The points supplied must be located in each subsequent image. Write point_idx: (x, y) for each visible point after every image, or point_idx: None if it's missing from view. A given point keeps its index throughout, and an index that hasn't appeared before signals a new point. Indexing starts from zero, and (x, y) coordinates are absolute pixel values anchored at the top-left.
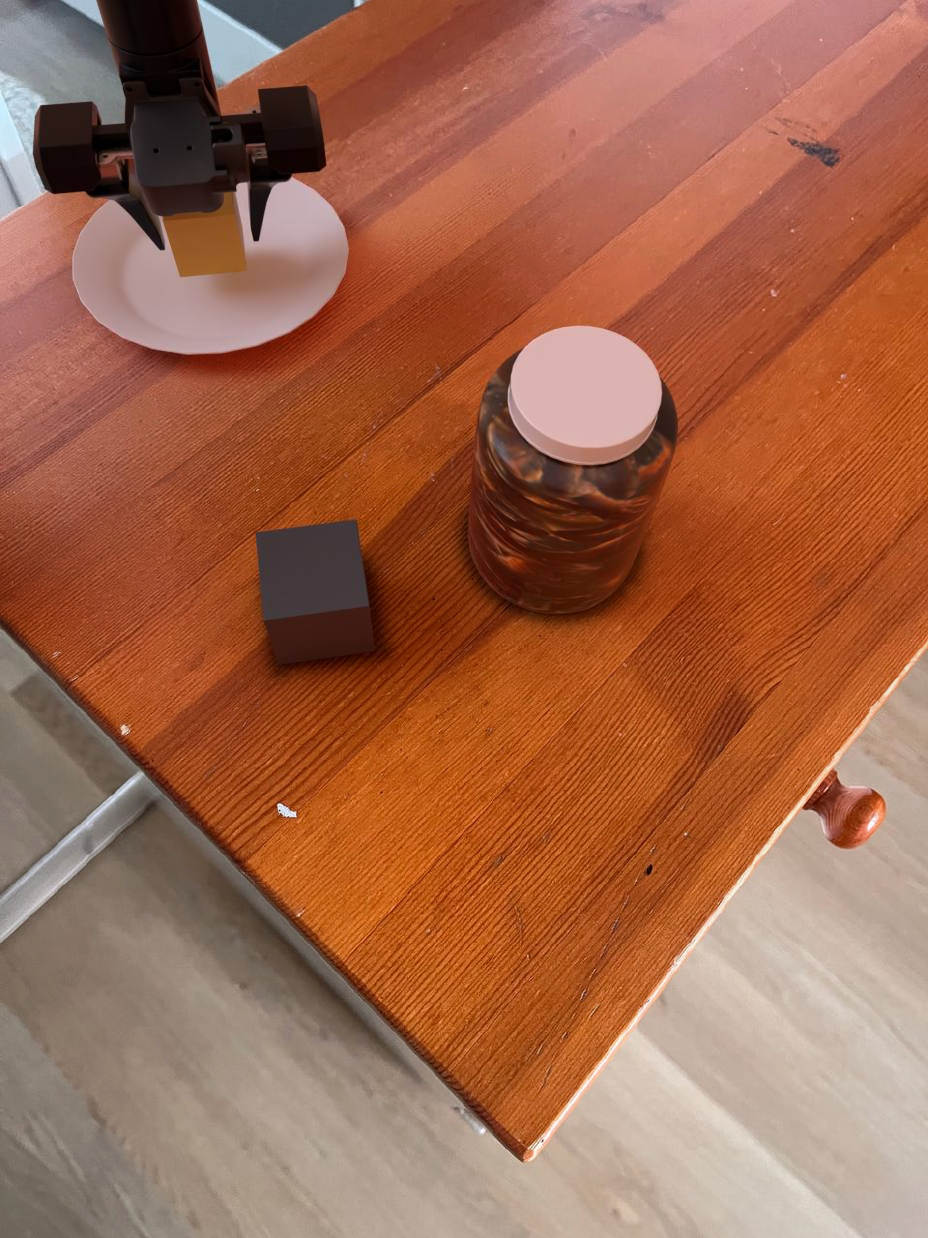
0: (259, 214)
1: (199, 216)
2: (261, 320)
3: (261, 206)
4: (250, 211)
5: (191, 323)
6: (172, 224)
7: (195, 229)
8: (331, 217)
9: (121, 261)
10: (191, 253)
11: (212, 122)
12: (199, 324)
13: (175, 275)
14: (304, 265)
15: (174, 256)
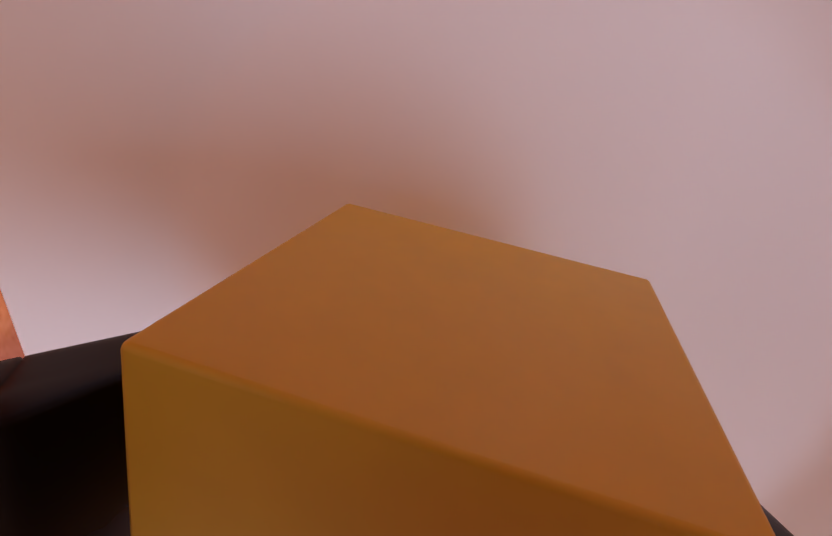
0: (87, 352)
1: (408, 449)
2: (382, 1)
3: (5, 369)
4: (106, 379)
5: (671, 85)
6: (686, 488)
7: (492, 383)
8: (46, 347)
9: (800, 502)
10: (569, 310)
11: None
12: (640, 62)
13: None
14: (191, 229)
15: (673, 336)
